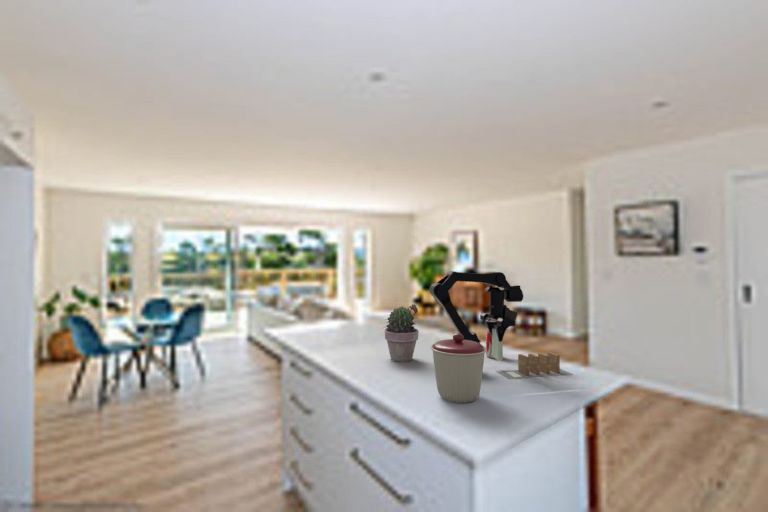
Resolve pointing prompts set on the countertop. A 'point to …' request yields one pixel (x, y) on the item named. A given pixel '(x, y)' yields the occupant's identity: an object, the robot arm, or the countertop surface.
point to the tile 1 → (496, 346)
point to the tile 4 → (544, 363)
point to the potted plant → (401, 334)
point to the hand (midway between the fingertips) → (497, 340)
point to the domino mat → (516, 375)
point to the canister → (458, 368)
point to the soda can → (488, 344)
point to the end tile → (554, 362)
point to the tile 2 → (523, 364)
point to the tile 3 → (534, 364)
